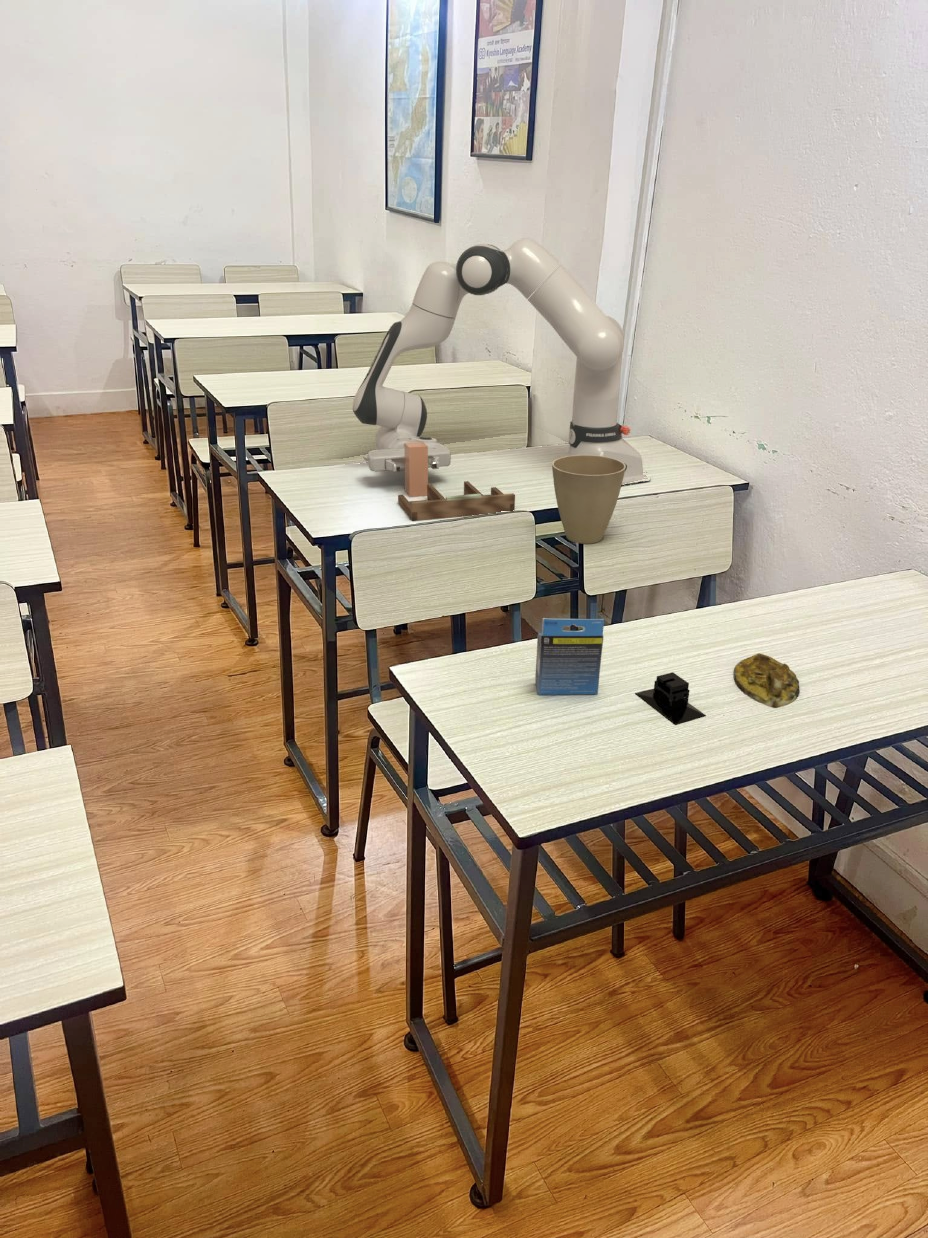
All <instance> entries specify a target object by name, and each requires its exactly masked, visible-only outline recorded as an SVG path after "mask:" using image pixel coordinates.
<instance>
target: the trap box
mask: <svg viewBox="0 0 928 1238" xmlns="http://www.w3.org/2000/svg"><path fill="white" fill-rule="evenodd" d="M397 504H398V505H399V506H400V508H401V509H402V510H403V512H404V513H405V514H406V516H407V517H408V518H409V519H410V520H411V522H417V521H429V520H439V519H451V518H460V517H461V518H462V516H463V517H473V516H472V515H474V516H480V515H479V514H485V515H489V514H488V513H496V512H501V511H513V510H515V509H516V508H515V507H516V506H515V505H516V494H515V493H514V492H513V493H503V492H502V491H501V490H500V489H499V488H498V487H496V486H492V487H490V494H482V492H481V491H480V490H478V489H477V488H476V487H475V485H473V484H472V483H470V482H469V480H467V481H463V494H461V495H460V494H459V495H449V496H448V495H446V496H445V497H444V496H443V494H441V493H440V492H439V490H437V488H436V487H435V486H434V485H433V484H432V483H428V484H427V496H426V499H422V500H421V499H419V500H412V501H411V500H410V501H409V500H408V499H407V497H405V495H404V494H397Z"/></svg>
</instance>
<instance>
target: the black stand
mask: <svg viewBox="0 0 928 1238" xmlns="http://www.w3.org/2000/svg"><path fill="white" fill-rule="evenodd" d="M689 685H690V683H689V682H688V681H686V680H685V679H684V678H682V677H680V676H679V675H678V674H676V673H675V672H674V671H673V672H669V673H664V674H660V675H657V676H656V680H654V685H653V688H651V689H647V690H643V691H642V690H641V691H639V692H634V695H635V696H636V697H638V698H640V699H641V700H642V701H643V702H644V703H646V704H647V705H648V706H650V707H651V708H652V709H654V710H655V712H657V713H659V714H660V715H661V716H662V717H663V718H665V720H667V721H669V722H670V723H671V724H672V725H674V726H677V725H681V724H685V723H688V722H690V721H695V720H699V719H701V718H705V717H707V715H706V714H705V713H703V712H702V711H700V710H699V709H698V708H696V707H695V705H693V704H691V703H689V697H690V691H691V690H690V689H689Z"/></svg>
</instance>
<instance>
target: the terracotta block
mask: <svg viewBox="0 0 928 1238" xmlns="http://www.w3.org/2000/svg"><path fill="white" fill-rule="evenodd" d="M404 449H405V471H404V487H405V488H404V492H405V494H406V495H407V496H408V497H409V498H418V497H427V484H429V468H428V446H427V445H426V444H425V443H424V442H409V443H404Z"/></svg>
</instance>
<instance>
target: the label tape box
mask: <svg viewBox="0 0 928 1238" xmlns="http://www.w3.org/2000/svg"><path fill="white" fill-rule="evenodd" d="M604 624H605V619H604V618H590V619H589V618H545V617H543V618H542V625H541V627H542V629H541V633H538V634H537V638H536V639H537V640H536V641H537V642H536V643H537V644H536V656H535V657H536V662H535V673H534V674H535V676H534V677H535V680H534V681H535V682H534V683H535V687H536V691H537V695H539V696H556V695H557V696H558V695H559V696H560V695H562V696H564V695H598V694H599V683H600V676H601V675H600V673H601V665H602V654H603V645H604V628H605V627H604ZM572 625H573V626H575V627H577V628H582V630H563V628H564V627H566V628H567V627H569V628H570V627H571V626H572Z"/></svg>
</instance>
